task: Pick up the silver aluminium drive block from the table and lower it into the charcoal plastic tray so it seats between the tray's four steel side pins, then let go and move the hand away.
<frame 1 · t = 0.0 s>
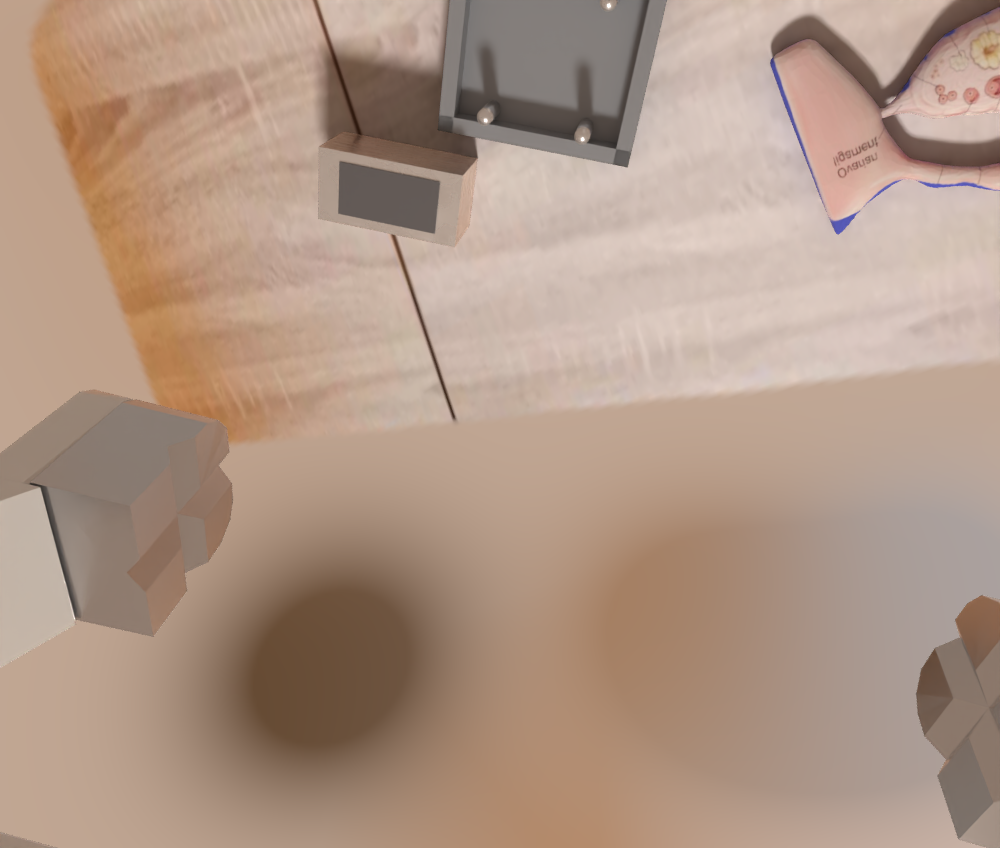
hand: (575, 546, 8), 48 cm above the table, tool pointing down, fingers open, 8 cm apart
drive: (408, 178, 56), on the table
anatomical model: (971, 83, 47), on the table
pin tray: (551, 53, 49), on the table
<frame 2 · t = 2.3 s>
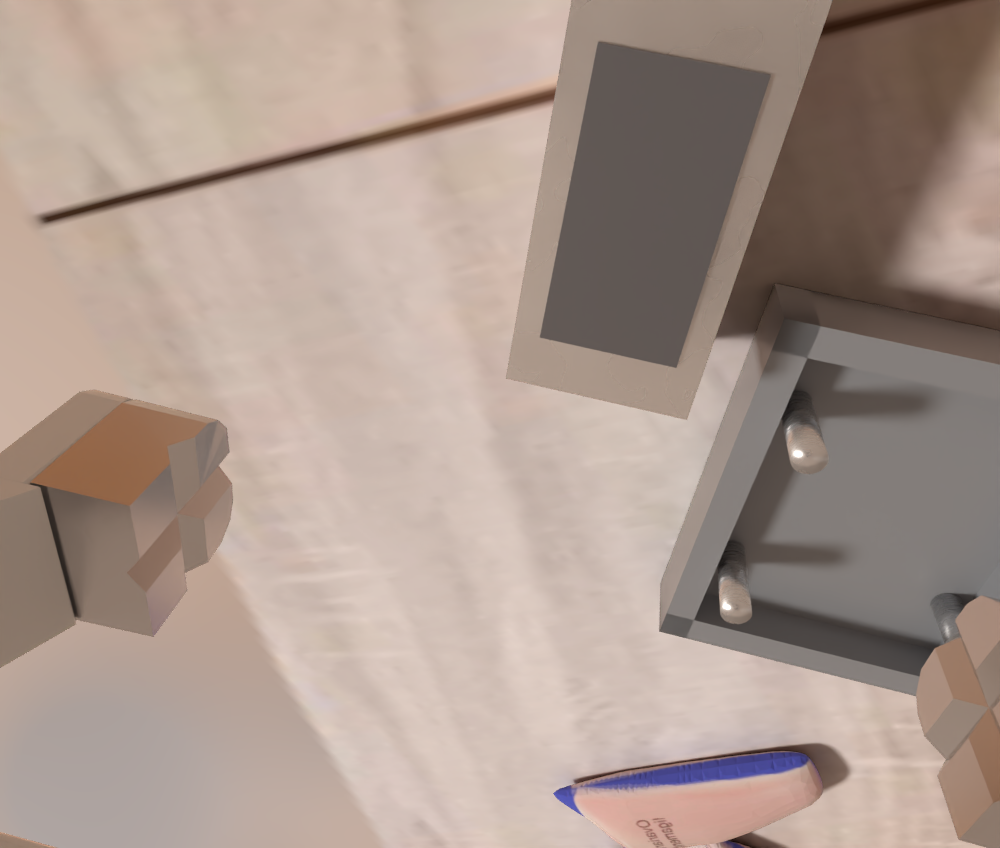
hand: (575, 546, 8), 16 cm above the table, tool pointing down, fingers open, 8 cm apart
drive: (648, 165, 22), on the table
pin tray: (869, 491, 26), on the table
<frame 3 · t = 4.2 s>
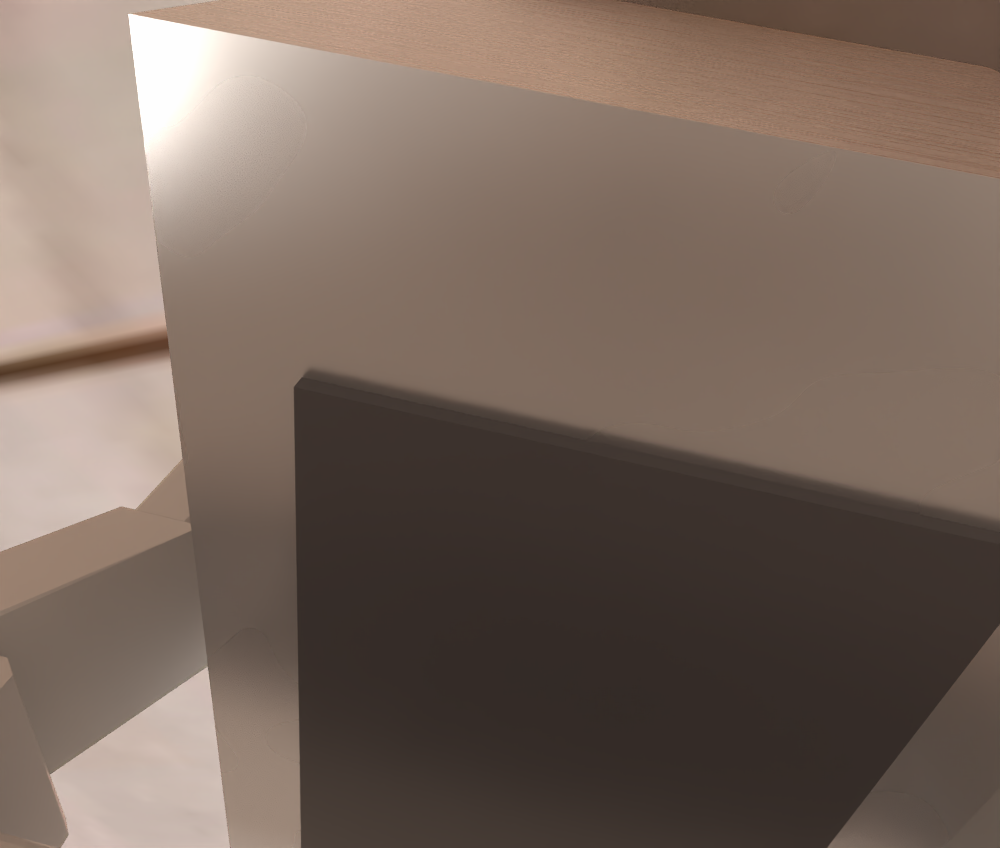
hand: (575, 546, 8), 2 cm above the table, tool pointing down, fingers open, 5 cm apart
drive: (590, 449, 10), on the table, touching gripper
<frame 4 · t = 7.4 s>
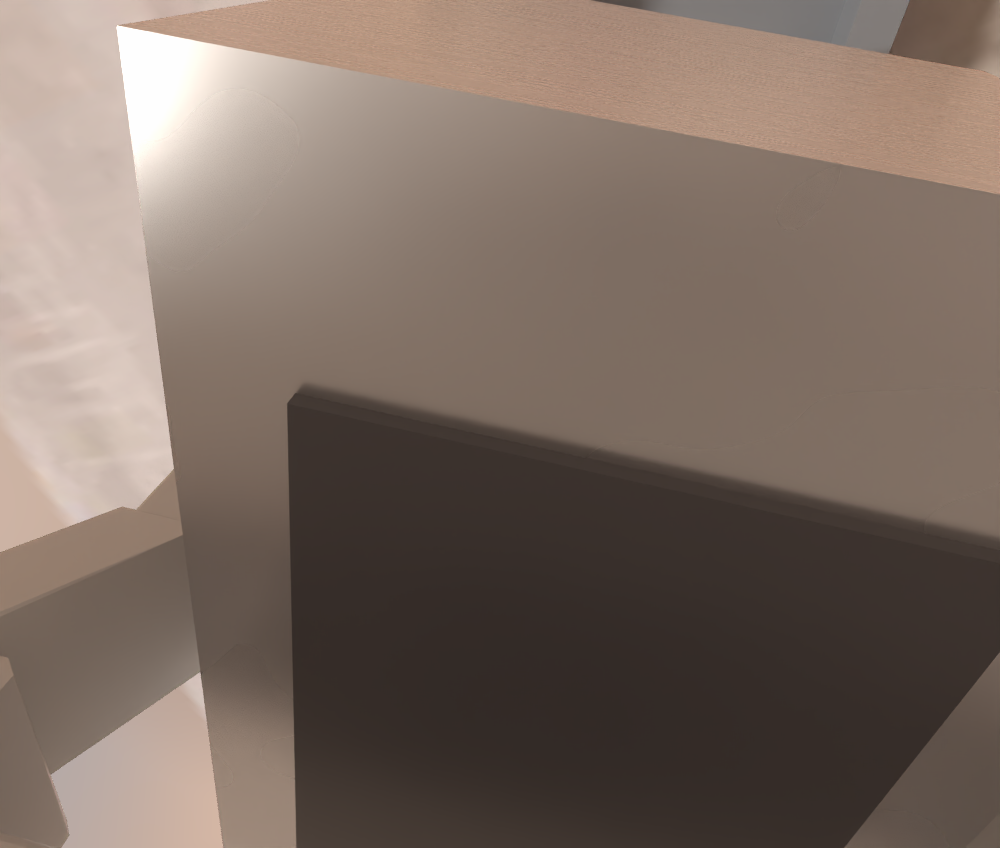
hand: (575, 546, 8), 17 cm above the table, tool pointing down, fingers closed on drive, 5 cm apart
drive: (589, 456, 10), point 15 cm above the table, touching gripper
pin tray: (616, 163, 22), on the table
when the fingers open (5 cm above the table, at t = 10.1 s): drive drops 2 cm, resting on pin tray.
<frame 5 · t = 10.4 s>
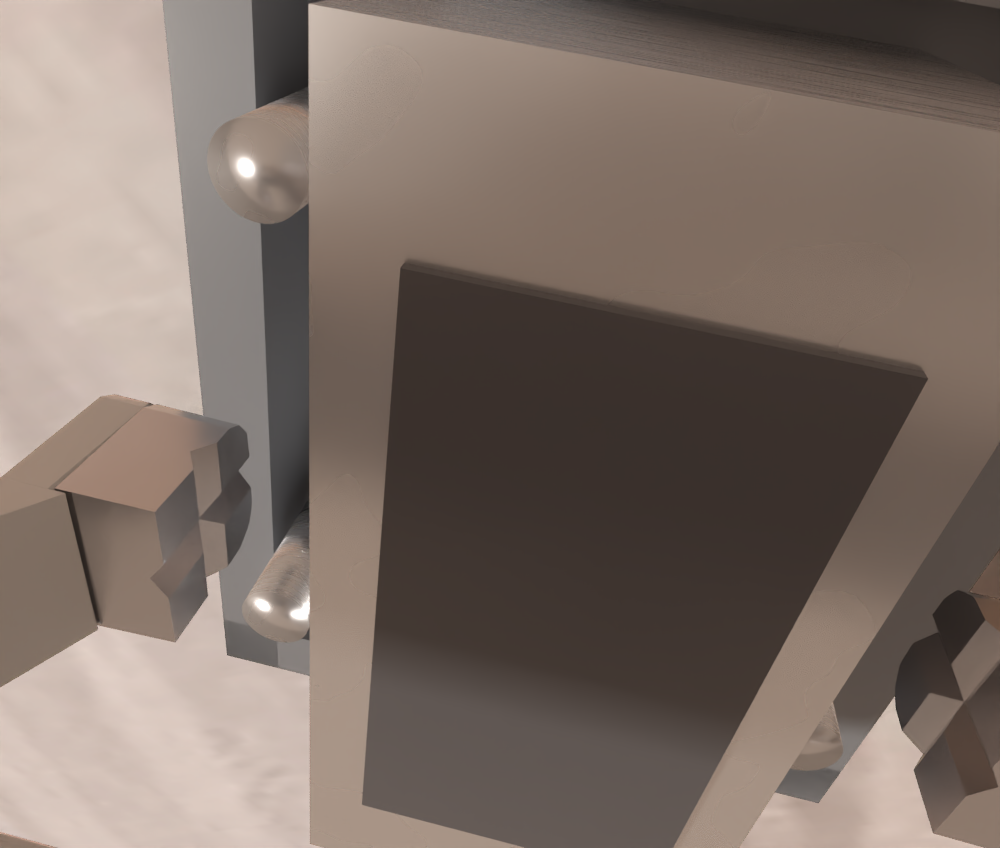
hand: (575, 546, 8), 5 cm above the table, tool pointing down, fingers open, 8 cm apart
drive: (598, 385, 11), point 1 cm above the table, touching pin tray
pin tray: (601, 353, 12), on the table
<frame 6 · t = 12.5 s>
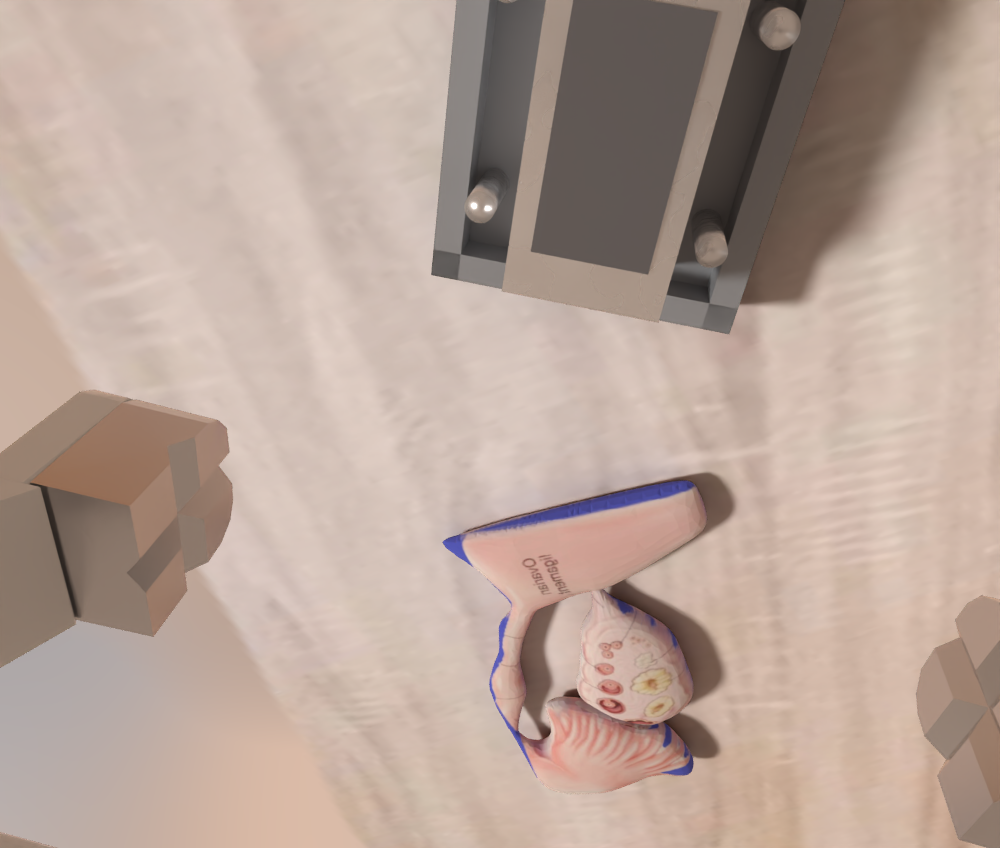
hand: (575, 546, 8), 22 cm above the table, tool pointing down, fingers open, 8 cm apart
drive: (621, 108, 25), point 1 cm above the table, touching pin tray
anatomical model: (609, 638, 41), on the table
pin tray: (621, 102, 26), on the table
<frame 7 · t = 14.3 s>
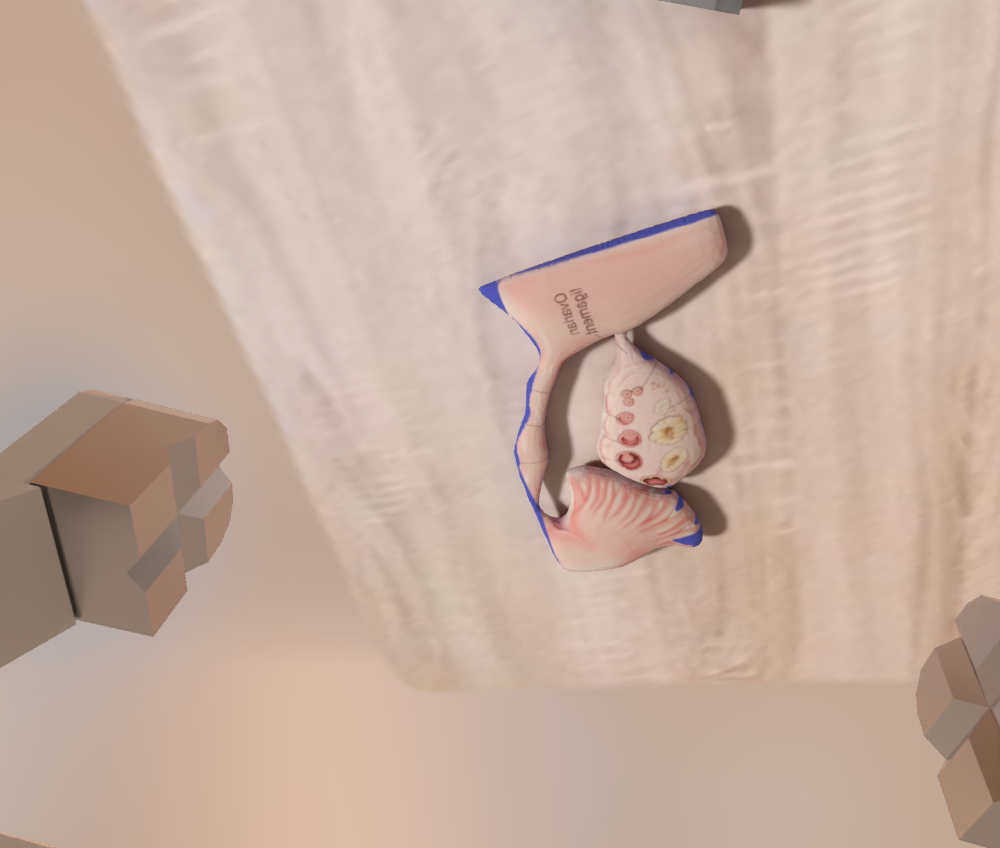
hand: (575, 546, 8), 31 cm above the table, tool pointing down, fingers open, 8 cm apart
anatomical model: (628, 405, 44), on the table
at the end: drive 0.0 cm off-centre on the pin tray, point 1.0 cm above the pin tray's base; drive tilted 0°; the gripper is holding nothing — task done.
